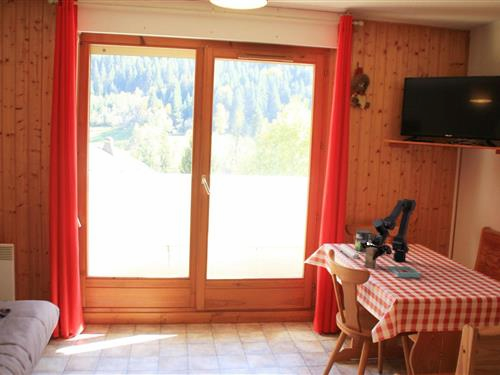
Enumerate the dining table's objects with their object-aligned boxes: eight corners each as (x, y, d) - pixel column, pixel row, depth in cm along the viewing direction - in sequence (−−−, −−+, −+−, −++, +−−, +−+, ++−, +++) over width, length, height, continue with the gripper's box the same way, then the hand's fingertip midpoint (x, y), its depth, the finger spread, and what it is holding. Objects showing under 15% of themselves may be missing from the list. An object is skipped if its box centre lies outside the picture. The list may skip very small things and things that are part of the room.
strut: (368, 265, 298) (370, 247, 297) (375, 267, 295) (376, 248, 293) (364, 266, 295) (366, 247, 293) (371, 268, 292) (372, 249, 290)
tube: (361, 255, 312) (347, 245, 337) (354, 252, 311) (340, 242, 336) (358, 263, 313) (344, 252, 337) (350, 260, 311) (337, 250, 336)
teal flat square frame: (409, 271, 294) (410, 266, 294) (420, 278, 281) (420, 273, 281) (388, 271, 292) (388, 266, 292) (397, 278, 279) (398, 272, 279)
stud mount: (373, 267, 299) (374, 260, 298) (377, 271, 292) (378, 263, 291) (361, 267, 298) (362, 260, 297) (366, 271, 291) (366, 263, 290)
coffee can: (361, 254, 331) (362, 233, 329) (351, 250, 340) (353, 229, 339) (373, 253, 335) (375, 232, 334) (364, 249, 345) (365, 229, 343)
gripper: (362, 226, 301) (350, 247, 295) (391, 232, 288) (379, 253, 282) (369, 237, 308) (357, 258, 301) (397, 243, 295) (385, 265, 288)
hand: (369, 258), depth 293 cm, fingers closed on strut, 4 cm apart
